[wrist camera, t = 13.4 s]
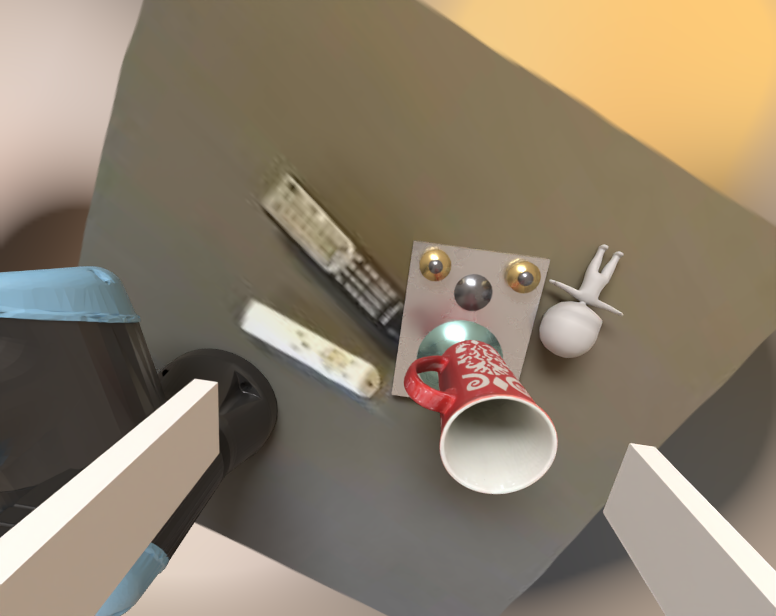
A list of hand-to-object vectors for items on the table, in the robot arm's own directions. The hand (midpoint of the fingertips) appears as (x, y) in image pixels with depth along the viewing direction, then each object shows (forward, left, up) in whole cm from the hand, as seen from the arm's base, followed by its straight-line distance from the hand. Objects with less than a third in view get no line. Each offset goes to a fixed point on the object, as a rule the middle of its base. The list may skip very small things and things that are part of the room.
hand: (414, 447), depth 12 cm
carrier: (+6, -6, -29) cm, 30 cm away
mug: (+6, -9, -28) cm, 30 cm away
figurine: (+19, +5, -29) cm, 35 cm away
